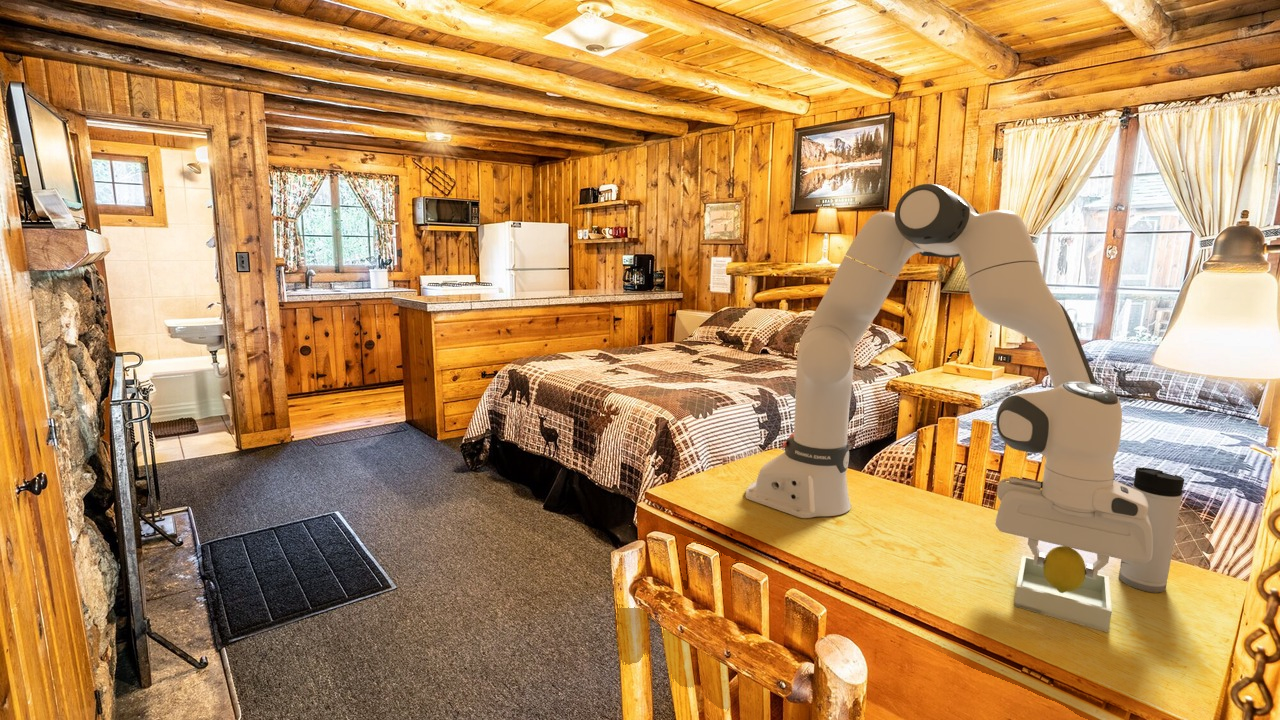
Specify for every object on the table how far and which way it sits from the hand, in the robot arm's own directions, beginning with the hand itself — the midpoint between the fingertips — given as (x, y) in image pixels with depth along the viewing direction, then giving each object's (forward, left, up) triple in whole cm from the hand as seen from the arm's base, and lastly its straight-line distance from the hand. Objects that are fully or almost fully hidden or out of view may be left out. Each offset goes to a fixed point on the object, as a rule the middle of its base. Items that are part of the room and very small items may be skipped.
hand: (1064, 570), depth 100 cm
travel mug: (+11, +14, -5) cm, 18 cm away
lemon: (0, 0, -4) cm, 4 cm away
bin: (0, 0, -5) cm, 5 cm away
